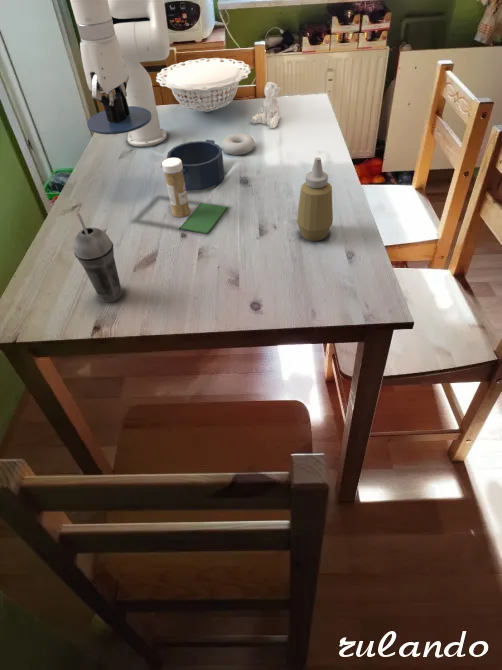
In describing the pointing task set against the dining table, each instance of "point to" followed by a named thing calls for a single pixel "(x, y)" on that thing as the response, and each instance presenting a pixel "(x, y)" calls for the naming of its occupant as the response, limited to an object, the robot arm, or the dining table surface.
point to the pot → (200, 164)
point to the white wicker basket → (204, 81)
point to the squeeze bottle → (315, 204)
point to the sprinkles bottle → (176, 186)
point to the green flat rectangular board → (203, 218)
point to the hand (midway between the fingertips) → (119, 117)
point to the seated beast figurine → (269, 107)
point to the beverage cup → (98, 261)
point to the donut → (238, 144)
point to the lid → (127, 122)
